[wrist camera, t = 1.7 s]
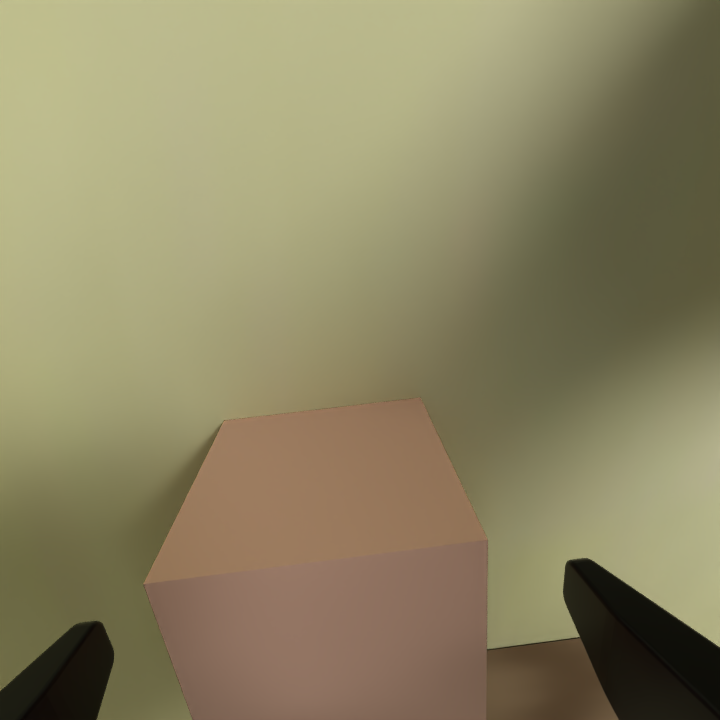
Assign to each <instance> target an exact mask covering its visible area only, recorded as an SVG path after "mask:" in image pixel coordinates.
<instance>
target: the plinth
mask: <svg viewBox="0 0 720 720" xmlns="http://www.w3.org/2000/svg"><path fill="white" fill-rule="evenodd" d="M486 720H619V719H618V718H617V716H616V714H615V712H614V710H613V708H612V706H611V705H610V703H609V701H608V699H607V697H606V695H605V693H604V691H603V689H602V686H601V684H600V682H599V680H598V678H597V675H596V673H595V671H594V668H593V666H592V664H591V661H590V659H589V657H588V654H587V652H586V650H585V647H584V645H583V643H582V641H581V638H577V639H570V640H562V641H555V642H547V643H540V644H532V645H525V646H517V647H510V648H502V649H495V650H487V693H486Z"/></svg>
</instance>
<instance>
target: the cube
mask: <svg viewBox="0 0 720 720" xmlns="http://www.w3.org/2000/svg"><path fill="white" fill-rule="evenodd" d="M487 570H488V539H487V537H486V535H485V533H484V531H483V529H482V527H481V524H480V522H479V520H478V518H477V516H476V514H475V512H474V510H473V508H472V505H471V503H470V501H469V499H468V497H467V495H466V493H465V491H464V488H463V486H462V484H461V482H460V480H459V478H458V476H457V474H456V472H455V469H454V467H453V465H452V463H451V461H450V459H449V457H448V455H447V453H446V450H445V448H444V446H443V444H442V442H441V440H440V438H439V436H438V434H437V431H436V429H435V427H434V425H433V423H432V421H431V419H430V417H429V415H428V412H427V410H426V408H425V406H424V404H423V402H422V400H421V398H412V399H403V400H395V401H386V402H378V403H369V404H361V405H352V406H344V407H335V408H327V409H318V410H310V411H301V412H293V413H284V414H275V415H267V416H258V417H250V418H241V419H233V420H224V422H223V424H222V426H221V428H220V430H219V432H218V434H217V436H216V438H215V440H214V442H213V444H212V446H211V448H210V450H209V452H208V454H207V456H206V458H205V460H204V462H203V464H202V466H201V468H200V470H199V472H198V474H197V476H196V478H195V480H194V482H193V484H192V486H191V488H190V490H189V492H188V494H187V496H186V498H185V501H184V503H183V505H182V507H181V509H180V511H179V513H178V515H177V517H176V519H175V521H174V523H173V525H172V527H171V529H170V531H169V533H168V535H167V537H166V539H165V541H164V543H163V545H162V547H161V549H160V551H159V553H158V555H157V557H156V559H155V561H154V563H153V565H152V567H151V569H150V571H149V573H148V575H147V577H146V579H145V581H144V584H143V585H144V588H145V590H146V593H147V596H148V599H149V601H150V604H151V607H152V610H153V612H154V615H155V618H156V620H157V623H158V626H159V629H160V631H161V634H162V637H163V640H164V642H165V645H166V648H167V651H168V653H169V656H170V659H171V662H172V664H173V667H174V670H175V673H176V675H177V678H178V681H179V684H180V686H181V689H182V692H183V695H184V697H185V700H186V703H187V706H188V708H189V711H190V714H191V716H192V719H193V720H486V693H487Z"/></svg>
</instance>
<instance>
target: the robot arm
mask: <svg viewBox="0 0 720 720" xmlns="http://www.w3.org/2000/svg"><path fill="white" fill-rule="evenodd" d="M563 595H564V600H565V603H566V606H567V608H568V610H569V613H570V615H571V617H572V620H573V622H574V624H575V627H576V629H577V631H578V634H579V636H580V638H581V641H582V643H583V645H584V647H585V650H586V652H587V654H588V657H589V659H590V661H591V664H592V666H593V668H594V671H595V673H596V675H597V678H598V680H599V682H600V684H601V686H602V689H603V691H604V693H605V695H606V697H607V699H608V701H609V703H610V705H611V706H612V708H613V710H614V712H615V714H616V716H617V718H618V719H619V720H720V647H719V646H717V645H716V644H714V643H713V642H711V641H710V640H708V639H707V638H705V637H704V636H703V635H701V634H700V633H698V632H697V631H695V630H694V629H692V628H691V627H689V626H688V625H686V624H685V623H683V622H682V621H681V620H679V619H678V618H676V617H675V616H673V615H672V614H670V613H669V612H667V611H666V610H664V609H663V608H661V607H660V606H658V605H657V604H656V603H654V602H653V601H651V600H650V599H648V598H647V597H645V596H644V595H642V594H641V593H639V592H638V591H636V590H635V589H634V588H632V587H631V586H629V585H628V584H626V583H625V582H623V581H622V580H620V579H619V578H617V577H616V576H614V575H613V574H612V573H610V572H609V571H607V570H606V569H604V568H603V567H601V566H600V565H598V564H597V563H595V562H594V561H592V560H590V559H588V558H581V559H573V560H569V561H567V563H566V566H565V575H564V586H563ZM113 662H114V650H113V647H112V644H111V642H110V640H109V637H108V635H107V633H106V630H105V628H104V625H103V624H102V623H101V622H100V621H90V622H82V623H78V624H76V625H74V626H73V627H72V628H70V629H69V630H68V631H67V632H66V633H65V634H64V635H63V636H61V637H60V638H59V639H58V640H57V641H56V642H55V643H54V644H52V645H51V646H50V647H49V648H48V649H47V650H46V651H45V652H44V653H42V654H41V655H40V656H39V657H38V658H37V659H36V660H35V661H33V662H32V663H31V664H30V665H29V666H28V667H27V668H26V669H25V670H23V671H22V672H21V673H20V674H19V675H18V676H17V677H16V678H14V679H13V680H12V681H11V682H10V683H9V684H8V685H7V686H6V687H4V688H3V689H2V690H1V691H0V720H97V717H98V713H99V710H100V707H101V703H102V700H103V696H104V693H105V690H106V686H107V683H108V680H109V676H110V673H111V669H112V666H113Z"/></svg>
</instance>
